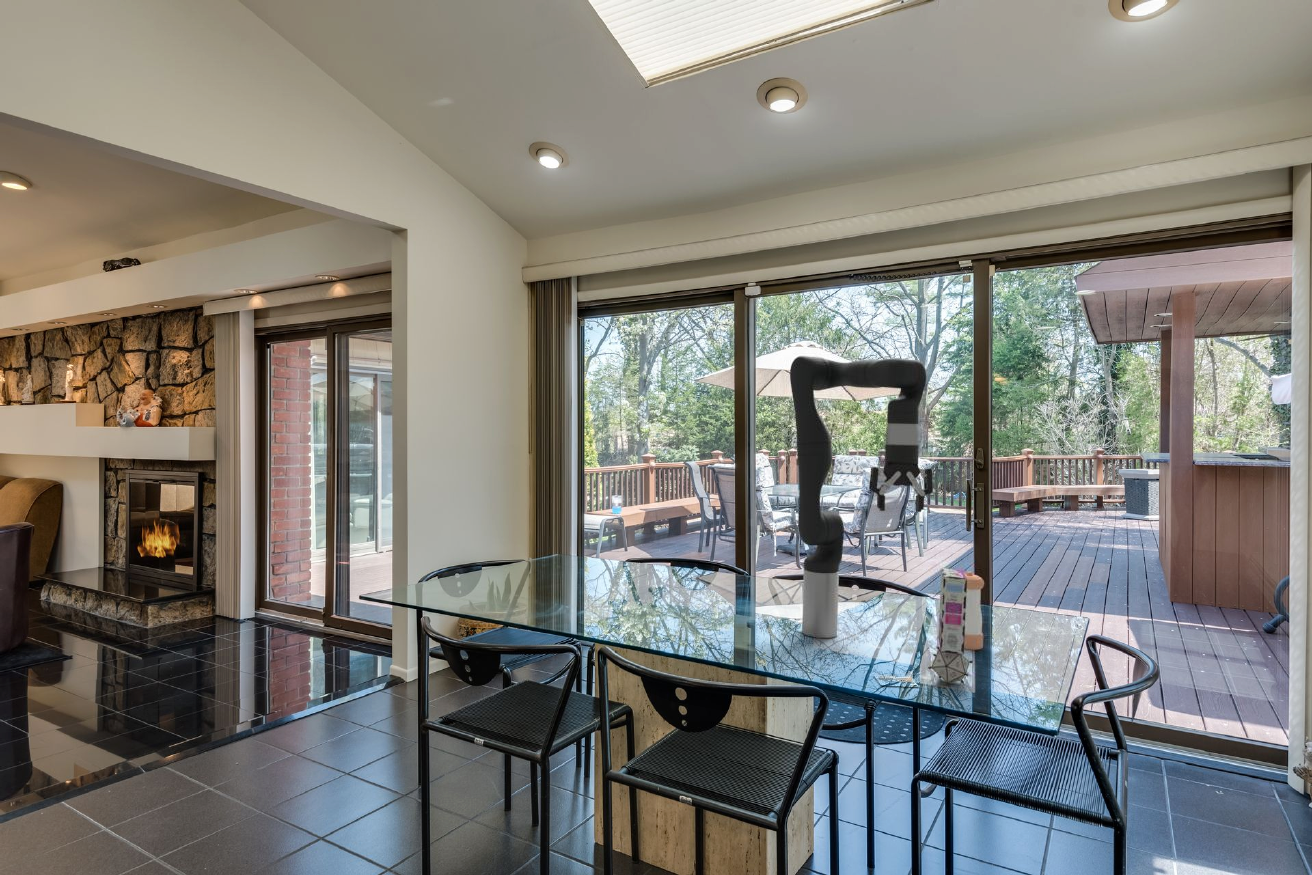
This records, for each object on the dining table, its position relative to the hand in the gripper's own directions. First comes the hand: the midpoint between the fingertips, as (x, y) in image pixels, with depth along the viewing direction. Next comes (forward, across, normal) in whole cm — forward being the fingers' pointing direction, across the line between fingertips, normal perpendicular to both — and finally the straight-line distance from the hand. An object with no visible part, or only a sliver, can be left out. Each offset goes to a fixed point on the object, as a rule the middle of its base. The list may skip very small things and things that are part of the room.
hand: (900, 511), depth 172 cm
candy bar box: (+28, -8, +13) cm, 32 cm away
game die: (+36, -8, +13) cm, 39 cm away
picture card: (+36, +4, +14) cm, 39 cm away
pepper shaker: (+36, -23, -16) cm, 46 cm away
